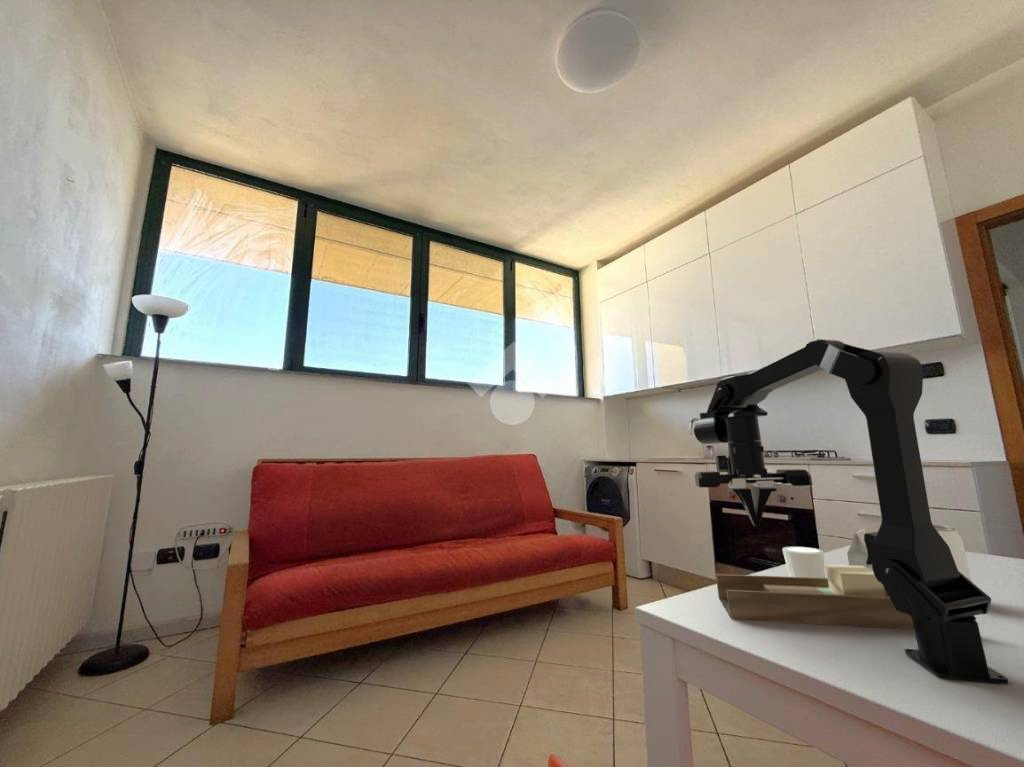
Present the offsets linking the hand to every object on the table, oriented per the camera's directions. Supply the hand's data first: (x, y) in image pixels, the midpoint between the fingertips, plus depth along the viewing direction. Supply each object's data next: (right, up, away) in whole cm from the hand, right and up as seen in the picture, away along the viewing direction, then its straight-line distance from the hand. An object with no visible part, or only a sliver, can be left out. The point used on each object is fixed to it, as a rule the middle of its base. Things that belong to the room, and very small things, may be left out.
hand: (756, 525), depth 76 cm
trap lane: (+6, -11, -9) cm, 16 cm away
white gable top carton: (+26, -13, +5) cm, 29 cm away
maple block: (+11, -8, -10) cm, 16 cm away
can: (+31, -11, -5) cm, 33 cm away
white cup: (+13, -14, +4) cm, 19 cm away
